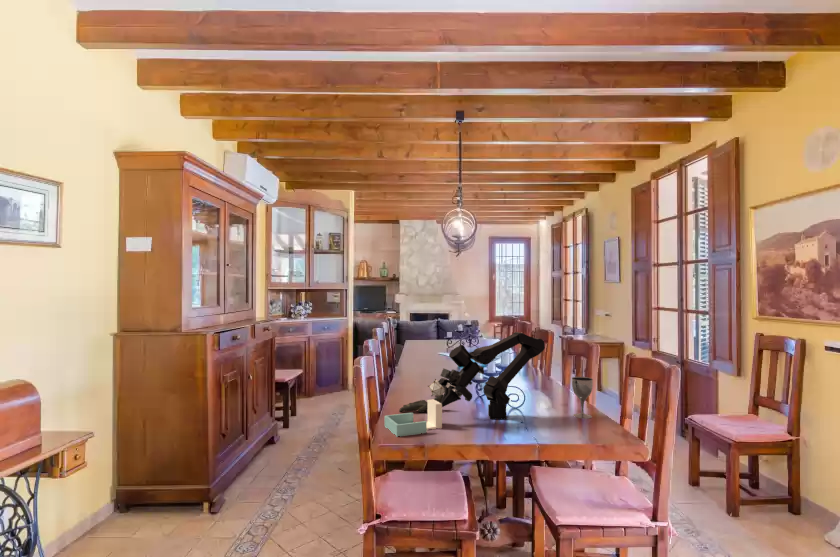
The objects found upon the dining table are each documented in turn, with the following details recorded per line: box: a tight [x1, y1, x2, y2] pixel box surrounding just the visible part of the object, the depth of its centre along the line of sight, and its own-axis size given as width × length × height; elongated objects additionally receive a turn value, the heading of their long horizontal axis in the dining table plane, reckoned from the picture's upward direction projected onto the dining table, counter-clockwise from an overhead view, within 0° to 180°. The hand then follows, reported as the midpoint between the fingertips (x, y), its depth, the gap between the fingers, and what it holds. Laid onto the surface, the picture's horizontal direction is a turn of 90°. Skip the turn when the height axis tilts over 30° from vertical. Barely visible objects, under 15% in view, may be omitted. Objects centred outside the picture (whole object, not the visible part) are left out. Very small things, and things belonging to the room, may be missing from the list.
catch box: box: [384, 412, 428, 438], centre depth 174 cm, size 11×13×4 cm
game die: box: [427, 378, 445, 397], centre depth 225 cm, size 9×8×10 cm
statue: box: [398, 393, 444, 413], centre depth 199 cm, size 6×6×20 cm
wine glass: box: [571, 376, 594, 419], centre depth 191 cm, size 8×8×15 cm
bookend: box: [426, 398, 443, 431], centre depth 178 cm, size 10×8×9 cm
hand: (440, 406), depth 180 cm, fingers closed
